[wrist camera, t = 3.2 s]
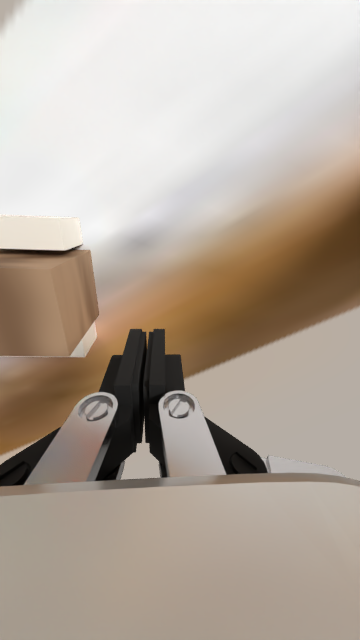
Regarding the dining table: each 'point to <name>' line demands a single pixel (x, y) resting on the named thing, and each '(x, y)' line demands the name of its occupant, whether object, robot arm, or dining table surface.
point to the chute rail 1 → (39, 232)
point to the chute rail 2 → (81, 347)
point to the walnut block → (45, 301)
